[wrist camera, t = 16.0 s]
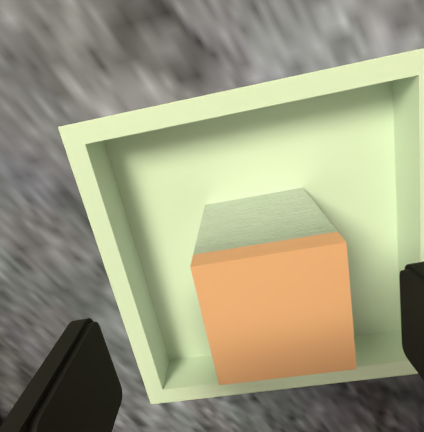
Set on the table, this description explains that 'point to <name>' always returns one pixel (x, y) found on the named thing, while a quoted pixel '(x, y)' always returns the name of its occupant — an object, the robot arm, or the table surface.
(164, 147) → the tray
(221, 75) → the table surface
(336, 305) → the block
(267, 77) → the table surface
